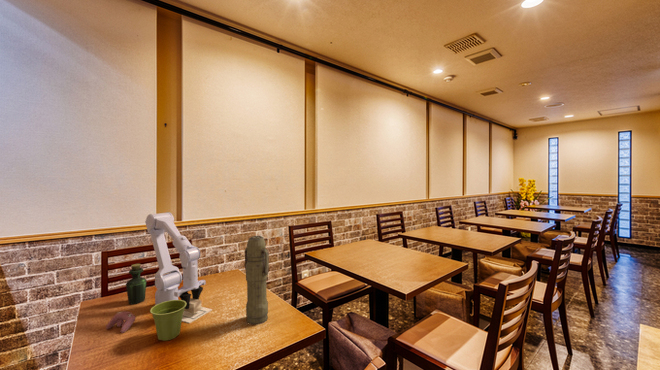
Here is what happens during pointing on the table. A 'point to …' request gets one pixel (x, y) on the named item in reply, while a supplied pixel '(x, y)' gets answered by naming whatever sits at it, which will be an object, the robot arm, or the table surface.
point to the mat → (194, 315)
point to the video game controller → (122, 320)
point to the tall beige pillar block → (194, 306)
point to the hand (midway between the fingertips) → (191, 306)
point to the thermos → (256, 280)
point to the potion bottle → (136, 286)
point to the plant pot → (168, 318)
